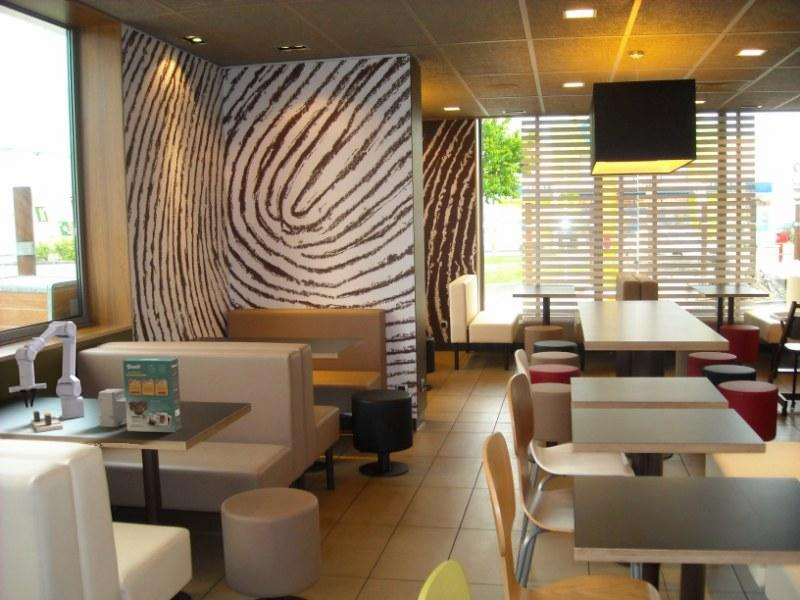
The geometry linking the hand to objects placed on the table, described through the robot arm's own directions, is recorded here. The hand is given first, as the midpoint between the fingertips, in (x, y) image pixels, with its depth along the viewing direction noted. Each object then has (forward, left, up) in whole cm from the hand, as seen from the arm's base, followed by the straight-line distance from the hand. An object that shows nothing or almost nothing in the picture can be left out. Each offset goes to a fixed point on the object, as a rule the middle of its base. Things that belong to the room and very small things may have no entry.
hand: (29, 406), depth 364 cm
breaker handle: (-7, 0, -9) cm, 11 cm away
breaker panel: (-7, -5, -10) cm, 13 cm away
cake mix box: (-44, +33, -11) cm, 56 cm away
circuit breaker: (-34, +14, -11) cm, 38 cm away
